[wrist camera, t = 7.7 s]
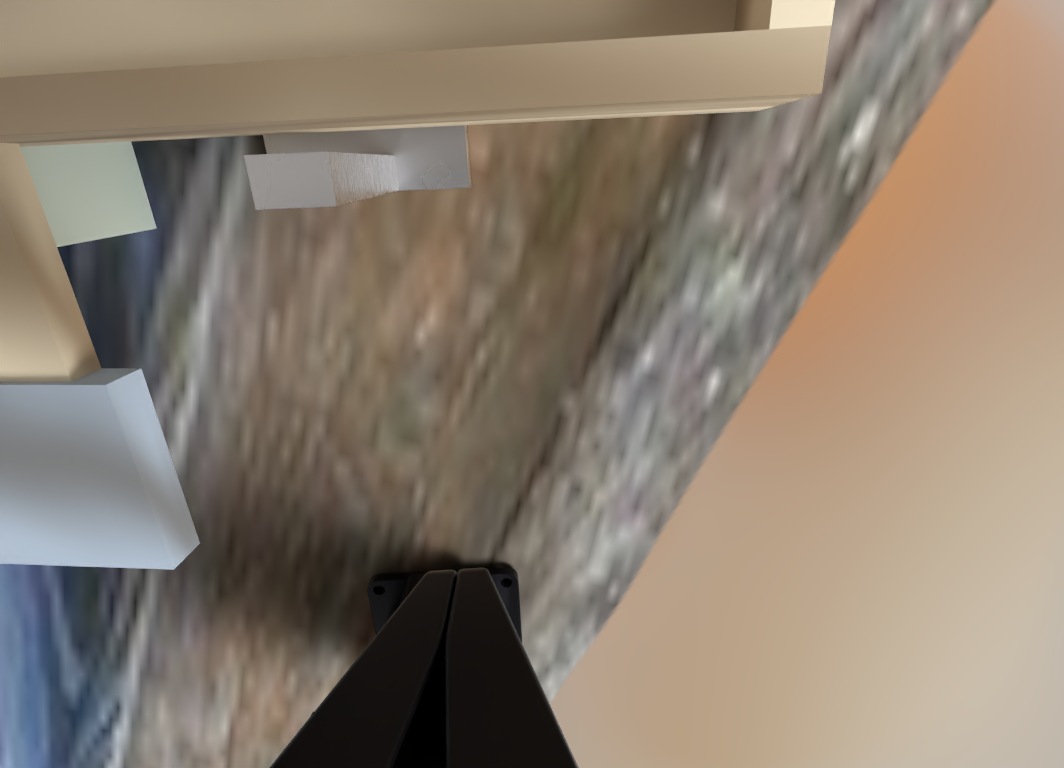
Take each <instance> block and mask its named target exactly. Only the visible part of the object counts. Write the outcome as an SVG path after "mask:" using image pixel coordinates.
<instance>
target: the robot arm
mask: <svg viewBox="0 0 1064 768" xmlns="http://www.w3.org/2000/svg"><path fill="white" fill-rule="evenodd" d="M505 578H508V579H510V580H509V581H504V580H503V579H505ZM377 586H382V587H384V588H378V587H377ZM368 596H369V601H370V606H371V611H372V616H373V621H374V626H375V631H376V636H375V637H374V638H373V640H372V641H371V642H370V643H369V645H368V646H367V647H366V648H365V650H364V651H363V652H362V653H361V655H360V656H359V657H358V658H357V660H356V661H355V662H354V663H353V665H352V666H351V667H350V668H349V670H348V671H347V672H346V673H345V675H344V676H343V677H342V678H341V680H340V681H339V682H338V683H337V685H336V686H335V687H334V688H333V689H332V691H331V692H330V693H329V694H328V696H327V697H326V698H325V699H324V701H323V702H322V703H321V704H320V706H319V707H318V708H317V709H316V711H315V712H313V713H312V715H311V717H310V718H309V719H308V721H307V722H306V723H305V724H304V726H303V727H302V728H301V729H300V731H299V732H298V733H297V734H296V736H295V737H294V738H293V739H292V741H291V742H290V743H289V744H288V746H287V747H286V748H285V749H284V751H283V752H282V753H281V754H280V756H279V757H278V758H277V759H276V760H275V762H274V763H273V764H272V765H271V767H270V768H579V767H578V765H577V763H576V761H575V759H574V757H573V754H572V752H571V750H570V748H569V746H568V743H567V741H566V739H565V737H564V735H563V733H562V730H561V728H560V726H559V724H558V722H557V719H556V717H555V715H554V713H553V711H552V708H551V706H550V704H549V702H548V700H547V698H546V695H545V693H544V691H543V689H542V687H541V684H540V682H539V680H538V678H537V676H536V673H535V671H534V669H533V667H532V665H531V663H530V660H529V658H528V656H527V654H526V652H525V649H524V647H523V645H522V633H521V617H520V600H519V584H518V574H517V572H516V571H515V570H514V569H512V568H507V567H505V568H487V569H486V568H469V569H461V570H438V571H430V572H417V573H399V574H382V575H376V576H374V577H372V578H371V580H370V582H369V585H368Z"/></svg>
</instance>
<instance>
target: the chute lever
mask: <svg viewBox="0 0 1064 768" xmlns="http://www.w3.org/2000/svg"><path fill="white" fill-rule="evenodd" d="M834 5H835V0H0V564H27V565H55V566H84V567H113V568H142V569H170V570H174V569H175V568H176V567H177V566H178V565H179V564H180V563H181V562H182V561H183V560H184V559H185V558H186V557H187V556H188V555H189V554H190V553H191V552H192V551H193V550H194V549H195V548H196V547H197V546H198V545H199V544H200V541H199V539H198V536H197V533H196V530H195V527H194V524H193V521H192V518H191V515H190V512H189V509H188V506H187V503H186V500H185V497H184V494H183V491H182V488H181V485H180V482H179V479H178V476H177V473H176V470H175V467H174V464H173V461H172V458H171V455H170V452H169V450H168V447H167V444H166V441H165V438H164V435H163V432H162V429H161V426H160V423H159V420H158V417H157V414H156V411H155V408H154V405H153V402H152V399H151V396H150V393H149V390H148V387H147V384H146V381H145V378H144V375H143V372H142V369H141V368H101V366H100V363H99V360H98V358H97V355H96V352H95V349H94V347H93V344H92V341H91V339H90V336H89V333H88V330H87V328H86V325H85V322H84V319H83V317H82V314H81V311H80V309H79V306H78V303H77V300H76V298H75V295H74V292H73V289H72V287H71V284H70V281H69V279H68V276H67V273H66V270H65V268H64V265H63V262H62V260H61V257H60V254H59V251H58V249H57V246H56V243H55V240H54V238H53V235H52V232H51V230H50V227H49V224H48V221H47V219H46V216H45V213H44V210H43V208H42V205H41V202H40V200H39V197H38V194H37V191H36V189H35V186H34V183H33V181H32V178H31V175H30V172H29V170H28V167H27V164H26V161H25V159H24V156H23V153H22V151H21V148H20V147H26V146H47V145H67V144H88V143H108V142H129V141H150V140H170V139H191V138H211V137H232V136H253V135H273V134H294V133H314V132H335V131H355V130H376V129H397V128H417V127H438V126H458V125H479V124H500V123H520V122H541V121H561V120H582V119H602V118H623V117H644V116H664V115H685V114H705V113H726V112H747V111H759V110H763V109H766V108H770V107H774V106H777V105H781V104H784V103H788V102H792V101H795V100H799V99H802V98H806V97H809V96H813V95H817V94H820V93H822V86H823V79H824V73H825V66H826V59H827V52H828V45H829V39H830V32H831V25H832V18H833V12H834Z"/></svg>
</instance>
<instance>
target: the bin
mask: <svg viewBox="0 0 1064 768" xmlns="http://www.w3.org/2000/svg"><path fill="white" fill-rule="evenodd" d="M20 148H21V151H22V153H23V156H24V159H25V161H26V164H27V167H28V170H29V172H30V175H31V178H32V181H33V183H34V186H35V189H36V191H37V194H38V197H39V200H40V202H41V205H42V208H43V210H44V213H45V216H46V219H47V221H48V224H49V227H50V230H51V232H52V235H53V238H54V240H55V243H56V246H57V247H61V246H66V245H71V244H77V243H82V242H87V241H93V240H98V239H103V238H109V237H114V236H119V235H125V234H130V233H136V232H141V231H146V230H152V229H157V228H156V224H155V221H154V218H153V214H152V211H151V207H150V204H149V201H148V197H147V194H146V190H145V187H144V184H143V180H142V177H141V173H140V170H139V167H138V163H137V160H136V156H135V153H134V150H133V146H132V143H131V141H129V142H108V143H88V144H67V145H47V146H26V147H20Z"/></svg>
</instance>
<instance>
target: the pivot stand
mask: <svg viewBox="0 0 1064 768" xmlns="http://www.w3.org/2000/svg"><path fill="white" fill-rule="evenodd" d="M263 138H264V143H265V148H266V152H267V154H260V155H244V160H245V164H246V169H247V173H248V178H249V182H250V187H251V191H252V196H253V200H254V205H255V209H256V210H261V209H284V208H308V207H331V206H340V205H344V204H347V203H351V202H355V201H359V200H363V199H367V198H371V197H375V196H379V195H383V194H387V193H391V192H395V191H400V190H424V189H447V188H470V187H471V173H470V160H469V146H468V133H467V125H458V126H438V127H417V128H397V129H376V130H355V131H335V132H314V133H294V134H273V135H263Z"/></svg>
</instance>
